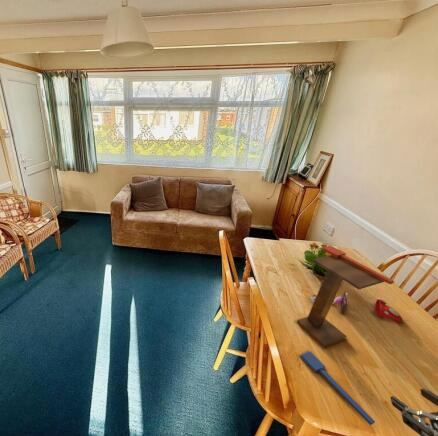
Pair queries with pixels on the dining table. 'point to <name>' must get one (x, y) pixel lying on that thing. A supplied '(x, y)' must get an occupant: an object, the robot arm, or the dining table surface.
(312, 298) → the grey flat lumpy piece
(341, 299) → the pink toy figure
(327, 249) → the red spatula
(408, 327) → the dining table surface
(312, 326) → the shelf stand
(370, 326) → the dining table surface
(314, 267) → the potted flower
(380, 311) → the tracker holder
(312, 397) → the dining table surface
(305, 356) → the blue paddle stick
